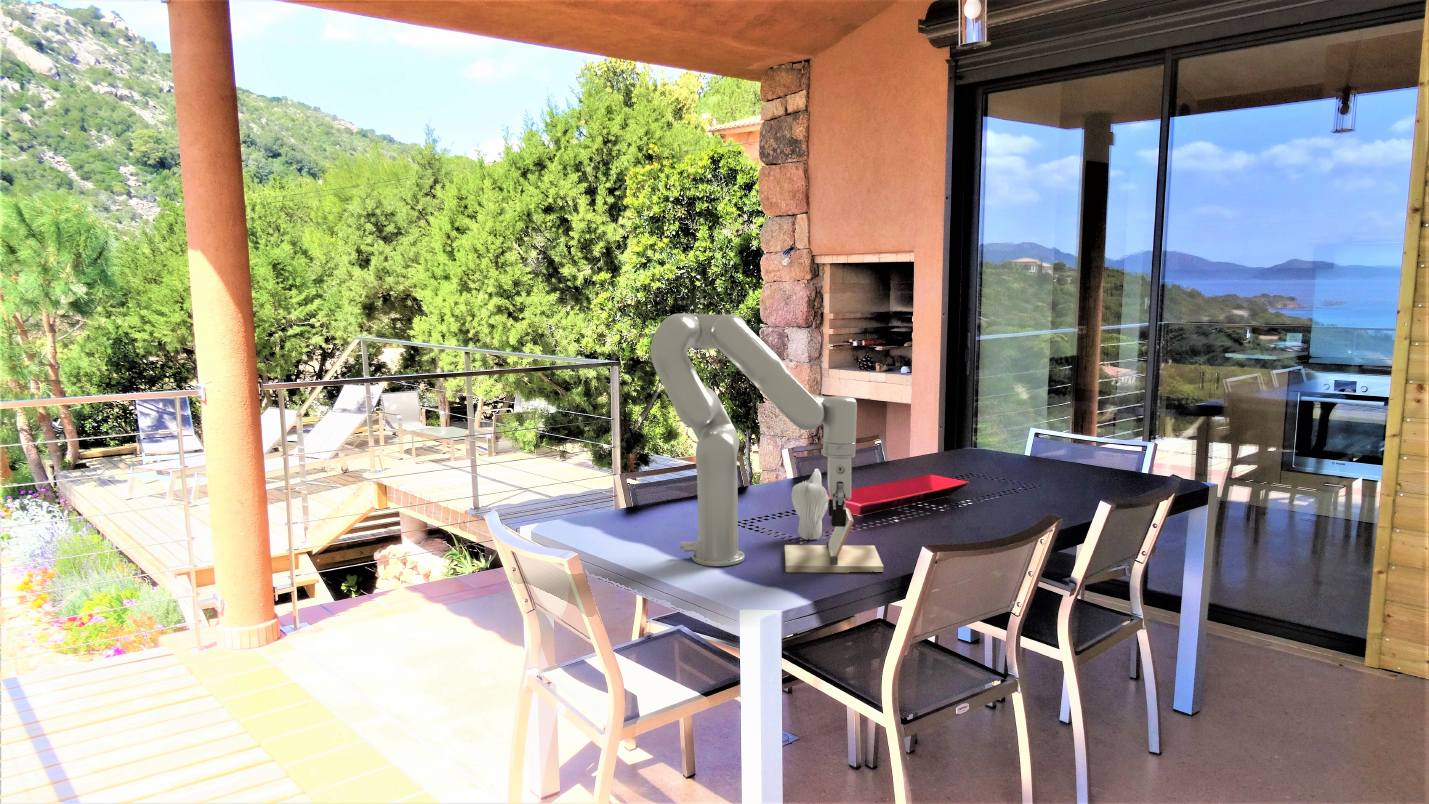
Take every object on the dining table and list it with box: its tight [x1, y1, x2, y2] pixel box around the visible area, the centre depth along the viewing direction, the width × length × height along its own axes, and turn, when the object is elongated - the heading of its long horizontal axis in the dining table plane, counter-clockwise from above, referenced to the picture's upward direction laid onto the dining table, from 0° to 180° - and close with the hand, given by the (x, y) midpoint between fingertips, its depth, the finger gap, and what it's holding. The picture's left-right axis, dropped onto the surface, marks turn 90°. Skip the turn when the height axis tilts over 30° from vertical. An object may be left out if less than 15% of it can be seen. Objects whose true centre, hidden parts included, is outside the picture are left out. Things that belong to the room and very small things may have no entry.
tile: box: [828, 507, 855, 557], centre depth 204 cm, size 10×12×1 cm
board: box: [784, 539, 884, 573], centre depth 204 cm, size 22×17×3 cm
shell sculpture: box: [790, 468, 830, 541], centre depth 224 cm, size 8×8×18 cm
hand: (836, 520), depth 203 cm, fingers open, 9 cm apart
